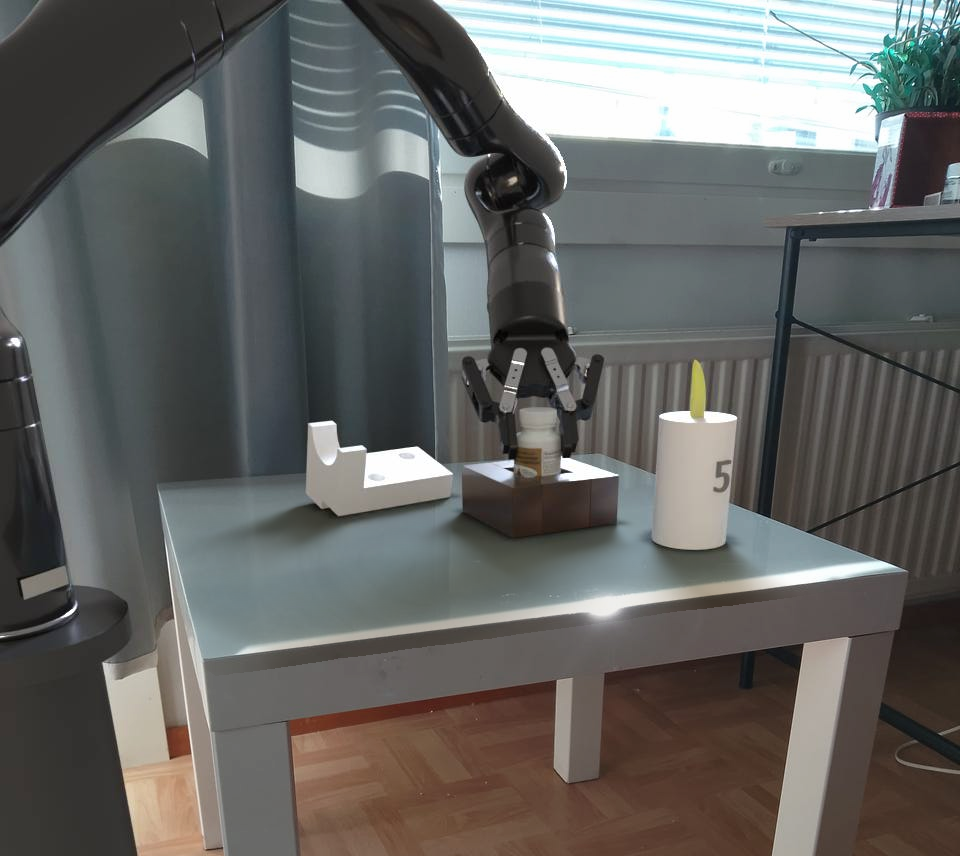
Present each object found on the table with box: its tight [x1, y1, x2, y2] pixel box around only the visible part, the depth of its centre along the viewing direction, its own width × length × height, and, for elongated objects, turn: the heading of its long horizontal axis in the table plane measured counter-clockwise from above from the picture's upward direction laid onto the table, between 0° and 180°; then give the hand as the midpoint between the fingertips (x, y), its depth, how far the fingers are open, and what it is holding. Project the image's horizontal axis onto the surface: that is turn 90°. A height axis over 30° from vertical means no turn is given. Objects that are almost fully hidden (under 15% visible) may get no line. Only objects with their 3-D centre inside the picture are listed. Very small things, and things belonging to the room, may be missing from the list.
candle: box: [651, 359, 738, 551], centre depth 78 cm, size 6×6×15 cm
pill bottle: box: [514, 406, 562, 478], centre depth 86 cm, size 4×4×8 cm
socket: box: [461, 455, 620, 539], centre depth 88 cm, size 11×11×4 cm
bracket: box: [305, 420, 454, 517], centre depth 94 cm, size 13×7×8 cm, turn 125°
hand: (540, 453), depth 84 cm, fingers closed on pill bottle, 4 cm apart
